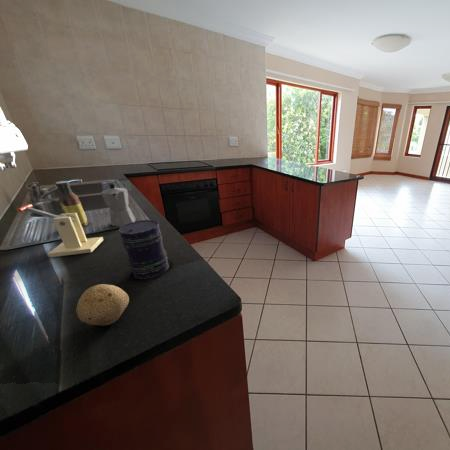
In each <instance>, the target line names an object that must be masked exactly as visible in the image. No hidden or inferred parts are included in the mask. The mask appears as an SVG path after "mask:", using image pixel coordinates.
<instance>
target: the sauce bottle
mask: <svg viewBox="0 0 450 450" xmlns="http://www.w3.org/2000/svg"><path fill="white" fill-rule="evenodd" d="M55 186H56V187H57V190H58V192H59V193H58V194H59V199H58V200H59V201H58V203H59V205H60V207H61V209H62V212H63V214H66V213H77V215H78V218H79V220H80V223H81V225H82V228H84V227H85V226H87V225H89V222H88V218H87V216H86V213H85V210H84V208H83V205H82V202H81V201H80V199H79V196H78V195H77V194H76V193H74V192H73V191H72V189H71V186H70V182H69V180H61V181H56V182H55Z"/></svg>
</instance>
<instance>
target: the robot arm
mask: <svg viewBox="0 0 450 450" xmlns="http://www.w3.org/2000/svg"><path fill="white" fill-rule="evenodd" d="M28 149H29V146H28V142H27V141H26V139H25V138H24V136H23V134H22V132H21V130H20V129H19V128H18V127H16V125H15V124H14V123H12V122H11V121H10V120H8V119H7V118H6V116H5V114H4V111H3V109H2V107H1V106H0V155H2V157H4V162H3V163H2V162H0V172H1V171H6V170H7V169H15V168H17V164H16V154H15V153H16V152H23V151H28Z"/></svg>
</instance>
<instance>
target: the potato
mask: <svg viewBox="0 0 450 450" xmlns="http://www.w3.org/2000/svg"><path fill="white" fill-rule="evenodd" d="M129 303H130V297H129V295H128V293H127V292H126V291H125V290H123V289H122V288H120V287H119V286H116V285H114V284H109V283H108V284H107V283H101V284H99V283H98V284H96V285H93V286H90V287H89V288H87V289H86V290H84V292H83V293H82V294H81V296H80V297H79V299H78V301H77V305H76V307H75V312H76V315H77V318H78V319H79V321H80V322H82V323H84V324H86V325H90V326H102V327H105V326H110V325H112V324H114V323H116V322H117V321H118V320H119V319H120V318H121V316H122V314H123V312H124V311H125V310H126V309H127V308H128V305H129Z"/></svg>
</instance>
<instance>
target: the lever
mask: <svg viewBox="0 0 450 450" xmlns="http://www.w3.org/2000/svg"><path fill="white" fill-rule="evenodd" d="M24 211H26V212H29V213H33V214H37V215H41V216H43V217H46V218H50V219H53V218H59V217H61V216H60V215H57V214H54V213H52V212H51V213H50V212H47V211H44V210H40V209H37V208H33V204H31V203H28V204H25V205H23V206H21V207H18V208H16V212H18V213H23V212H24ZM62 217H70V216H66V215H64V216H62ZM71 219H72V222H73V221H74V218H73V217H71Z"/></svg>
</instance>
